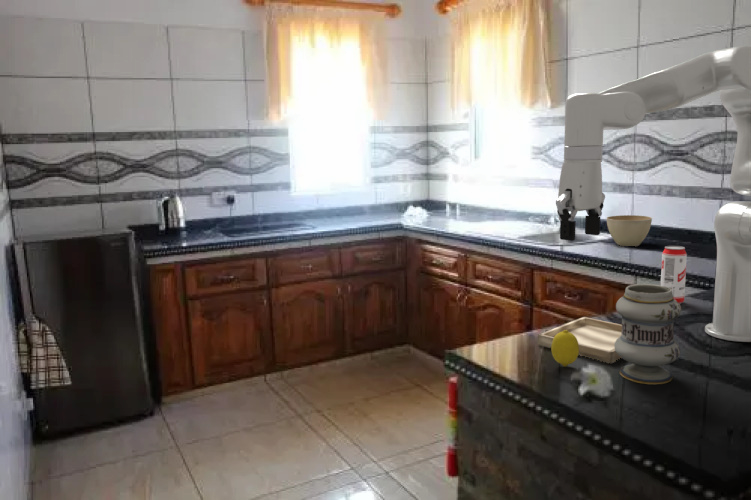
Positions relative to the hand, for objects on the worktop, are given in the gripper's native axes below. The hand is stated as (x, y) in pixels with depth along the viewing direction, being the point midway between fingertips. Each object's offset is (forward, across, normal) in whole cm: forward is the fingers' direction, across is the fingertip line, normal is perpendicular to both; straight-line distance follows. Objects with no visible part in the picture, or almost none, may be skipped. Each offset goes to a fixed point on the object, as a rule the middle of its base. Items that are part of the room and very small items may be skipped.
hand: (580, 237), depth 131 cm
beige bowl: (+26, -140, -59) cm, 154 cm away
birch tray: (+27, -12, -2) cm, 29 cm away
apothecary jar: (+27, -1, +15) cm, 31 cm away
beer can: (+26, -59, -5) cm, 65 cm away
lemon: (+27, +6, +1) cm, 28 cm away
